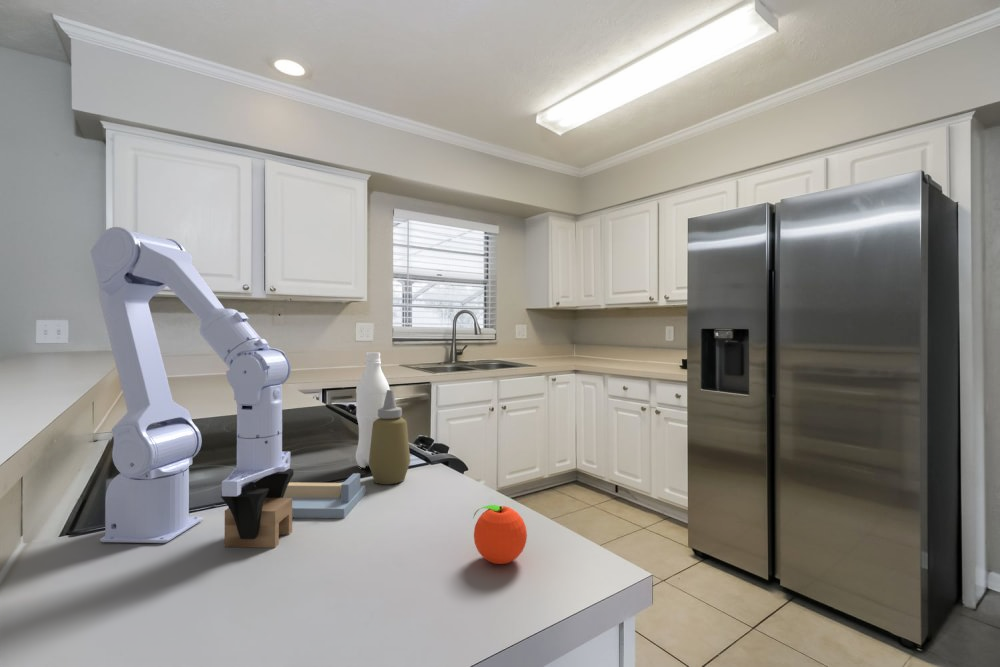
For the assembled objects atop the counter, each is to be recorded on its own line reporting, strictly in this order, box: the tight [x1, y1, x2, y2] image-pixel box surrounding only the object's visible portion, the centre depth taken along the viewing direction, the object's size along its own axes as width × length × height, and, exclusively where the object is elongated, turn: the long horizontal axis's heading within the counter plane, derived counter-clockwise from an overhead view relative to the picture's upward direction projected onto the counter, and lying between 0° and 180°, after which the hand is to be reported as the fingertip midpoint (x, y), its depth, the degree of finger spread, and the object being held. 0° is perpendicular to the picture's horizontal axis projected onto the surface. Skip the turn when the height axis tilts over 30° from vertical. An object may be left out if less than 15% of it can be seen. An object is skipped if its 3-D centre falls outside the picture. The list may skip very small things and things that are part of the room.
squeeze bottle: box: [368, 389, 411, 485], centre depth 91 cm, size 8×8×18 cm
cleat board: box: [283, 472, 366, 519], centre depth 78 cm, size 14×11×4 cm
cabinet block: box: [224, 498, 293, 549], centre depth 65 cm, size 7×5×6 cm
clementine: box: [472, 504, 528, 565], centre depth 60 cm, size 8×7×7 cm
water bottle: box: [355, 351, 391, 468], centre depth 100 cm, size 7×7×25 cm
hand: (259, 529), depth 65 cm, fingers closed on cabinet block, 5 cm apart
